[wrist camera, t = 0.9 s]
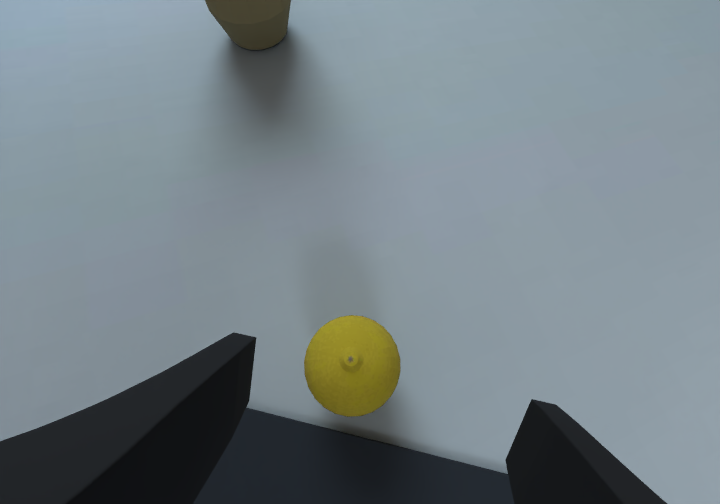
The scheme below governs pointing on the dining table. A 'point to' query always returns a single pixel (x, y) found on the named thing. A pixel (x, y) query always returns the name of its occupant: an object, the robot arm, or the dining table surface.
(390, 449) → the mat
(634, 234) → the dining table surface
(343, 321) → the lemon
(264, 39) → the squeeze bottle
